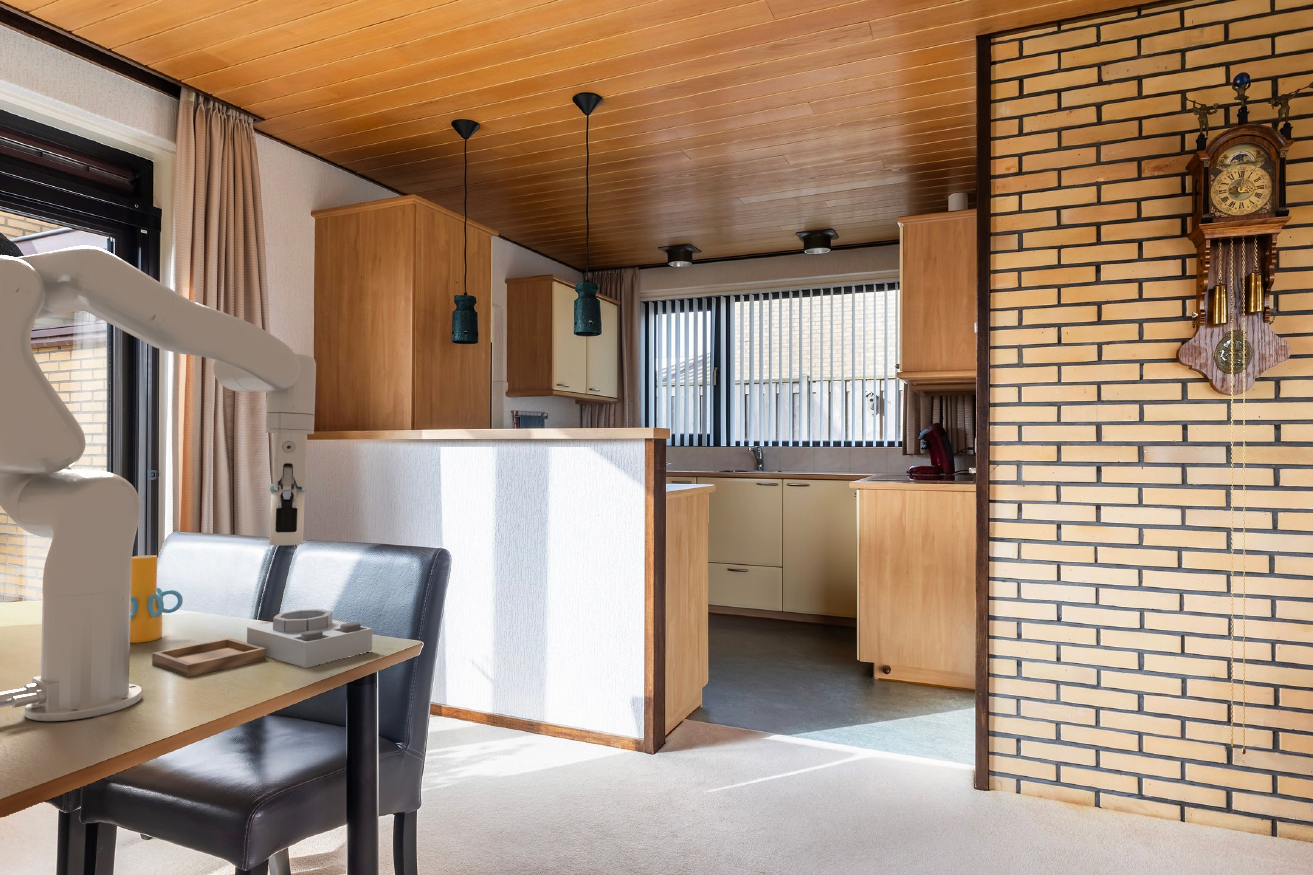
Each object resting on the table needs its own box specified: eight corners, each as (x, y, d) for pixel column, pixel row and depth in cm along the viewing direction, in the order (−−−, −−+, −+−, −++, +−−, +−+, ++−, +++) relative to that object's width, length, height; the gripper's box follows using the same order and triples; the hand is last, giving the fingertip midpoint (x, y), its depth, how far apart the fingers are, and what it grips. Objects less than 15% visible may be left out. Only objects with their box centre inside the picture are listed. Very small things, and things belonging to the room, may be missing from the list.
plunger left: (307, 657, 121) (308, 636, 121) (296, 654, 122) (297, 633, 122) (326, 653, 123) (326, 632, 123) (315, 650, 125) (315, 629, 125)
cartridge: (304, 544, 128) (306, 480, 128) (267, 545, 125) (269, 480, 126) (304, 541, 133) (306, 480, 133) (268, 542, 130) (271, 479, 131)
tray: (187, 676, 114) (187, 665, 114) (152, 663, 121) (152, 652, 121) (265, 659, 124) (266, 648, 124) (229, 648, 131) (229, 637, 131)
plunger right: (347, 648, 126) (347, 627, 126) (336, 645, 128) (336, 625, 128) (364, 644, 129) (364, 624, 129) (353, 641, 131) (353, 621, 131)
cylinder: (91, 641, 135) (93, 557, 135) (153, 629, 144) (154, 551, 144) (129, 650, 129) (131, 562, 129) (191, 637, 138) (192, 555, 139)
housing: (305, 667, 119) (306, 630, 119) (246, 650, 129) (247, 615, 130) (371, 651, 129) (372, 616, 129) (312, 636, 139) (312, 604, 139)
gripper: (314, 423, 124) (310, 534, 123) (313, 427, 139) (310, 526, 138) (263, 421, 120) (258, 535, 120) (268, 426, 136) (264, 527, 135)
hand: (286, 529), depth 129 cm, fingers closed on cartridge, 5 cm apart
